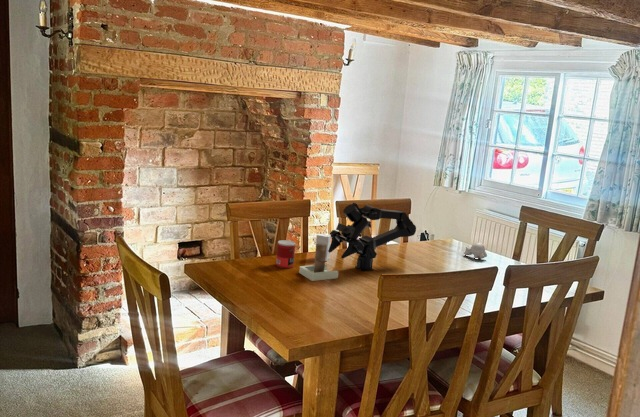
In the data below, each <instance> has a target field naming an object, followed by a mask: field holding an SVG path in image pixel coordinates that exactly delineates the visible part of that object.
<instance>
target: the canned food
mask: <svg viewBox="0 0 640 417" xmlns="http://www.w3.org/2000/svg"><path fill="white" fill-rule="evenodd" d="M276 246H277V248H276V260H275V261H276V262H275V264H276V267H278V268H281V269H292V268H293V267H294V265H295V256H296V255H295V252H296V242H294V241H293V240H286V239H283V240H282V239H281V240H280V239H279V240H278V241H277V244H276Z"/></svg>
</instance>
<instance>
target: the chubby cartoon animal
mask: <svg viewBox="0 0 640 417" xmlns="http://www.w3.org/2000/svg"><path fill="white" fill-rule="evenodd" d="M462 251H463V255H464V254H465V255H469V256H472V255H473V258H474V257H475V258H479V259H480V260H483V259H485V258H487V257H488V253H487V252H486V246H485V244H483V243H482V242H474V243H473V244H472V245H471V246H470V245H468V246H465V250H462ZM465 255H464V256H465Z"/></svg>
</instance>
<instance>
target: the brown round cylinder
mask: <svg viewBox="0 0 640 417" xmlns="http://www.w3.org/2000/svg"><path fill="white" fill-rule="evenodd" d="M326 247H327V245H326V244H323V243H318V244H316V243H315V251H316V254H315V255H314V264H313V265H314V273H316V272H324V267H325V264H326V261H325V257H326Z"/></svg>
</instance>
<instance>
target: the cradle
mask: <svg viewBox="0 0 640 417" xmlns="http://www.w3.org/2000/svg"><path fill="white" fill-rule="evenodd" d="M327 265H328V264H326V263H325V267H324V272H316V273H314V264H310V265H301V266H299V272H298V273H299V274H301V275H302V276H304V277H305V278H306V279H308V280H309V281H311V282H315V281H323V280H333V279H338V278H339V272H340V271H339V270H337V269H336V270H328V269H327V267H328V266H327Z"/></svg>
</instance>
